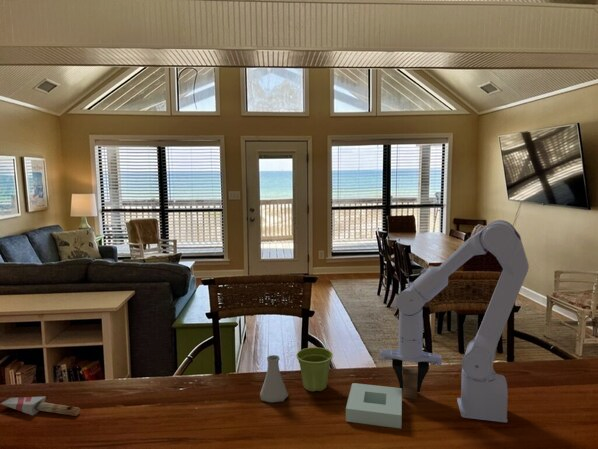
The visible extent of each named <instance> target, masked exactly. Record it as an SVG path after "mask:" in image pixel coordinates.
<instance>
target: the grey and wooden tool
mask: <svg viewBox="0 0 598 449" xmlns="http://www.w3.org/2000/svg"><path fill="white" fill-rule="evenodd" d="M46 399H47V396H26V397H25V396H24V397H9V398H8V399H6V400H4V401H2V402H1V403H0V405H2V406H5V407H8V408H10V409H14V410H16V411H19V412H22V413H25V414H27V415H30V416H35V415H36V414H38V413H39V412H40V411H41V412H48V413H54V414H61V415H67V416H73V417H77V416H78V415H80V413H81V410H82V409H81V408H80V407H77V406H72V405H71V406H70V405H66V404H65V405H64V404H63V405H62V404H58V403H57V404H56V403H50V402H45V401H46Z"/></svg>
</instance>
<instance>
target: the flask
mask: <svg viewBox="0 0 598 449" xmlns="http://www.w3.org/2000/svg"><path fill="white" fill-rule="evenodd" d="M266 360H267V370H266V374H265V378H264V382H263V384H262V387H261V390H260V392H259V398H260V400H261V401H263V402H267V403H271V404H272V403H279V402H280V403H281V402H284V401H285V399H286V400H287V398H288V396H289V393H288V391H287V389H286V386H285V384H284V380H283V378H282V374H281V371H280V370H281V369H280V365H279V361H280V356H279V355H275V354H270V355H268V356H267V357H266Z"/></svg>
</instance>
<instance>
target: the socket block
mask: <svg viewBox="0 0 598 449" xmlns="http://www.w3.org/2000/svg"><path fill="white" fill-rule="evenodd" d="M350 386H351V387H350V390H349V394H348V398H347V402H346V407H345V422H348V423H355V424H356V423H357V424H362V425H371V426H377V427H378V426H379V427H386V428H393V429H402V422H403V420H402V418H403V417H402V416H403V415H402V414H403V413H402V412H403V410H402V406H403V403H402V402H403V391H402V388H400V387H393V386H386V385H385V386H383V385H374V384H365V383H357V382H355V383H353V382H352V384H351V385H350Z"/></svg>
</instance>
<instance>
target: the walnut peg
mask: <svg viewBox="0 0 598 449" xmlns="http://www.w3.org/2000/svg"><path fill="white" fill-rule="evenodd" d="M402 376H403V391H402V399H404V398H405V399H410V400H412V399H414V400H418V392H417V379H418V368H417V369H415V368H407V367H405V368H404V367H402Z"/></svg>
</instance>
